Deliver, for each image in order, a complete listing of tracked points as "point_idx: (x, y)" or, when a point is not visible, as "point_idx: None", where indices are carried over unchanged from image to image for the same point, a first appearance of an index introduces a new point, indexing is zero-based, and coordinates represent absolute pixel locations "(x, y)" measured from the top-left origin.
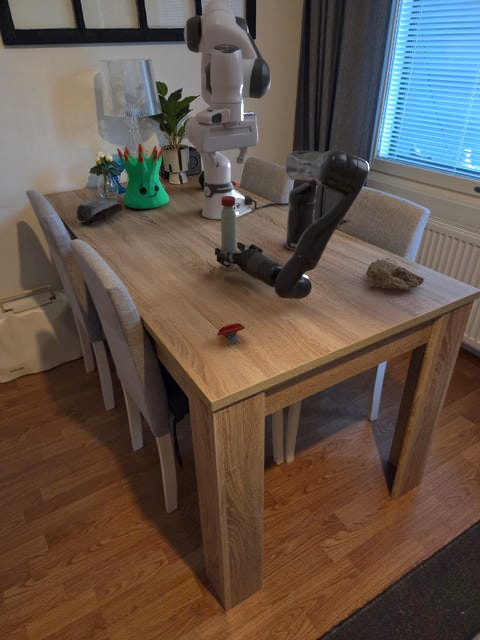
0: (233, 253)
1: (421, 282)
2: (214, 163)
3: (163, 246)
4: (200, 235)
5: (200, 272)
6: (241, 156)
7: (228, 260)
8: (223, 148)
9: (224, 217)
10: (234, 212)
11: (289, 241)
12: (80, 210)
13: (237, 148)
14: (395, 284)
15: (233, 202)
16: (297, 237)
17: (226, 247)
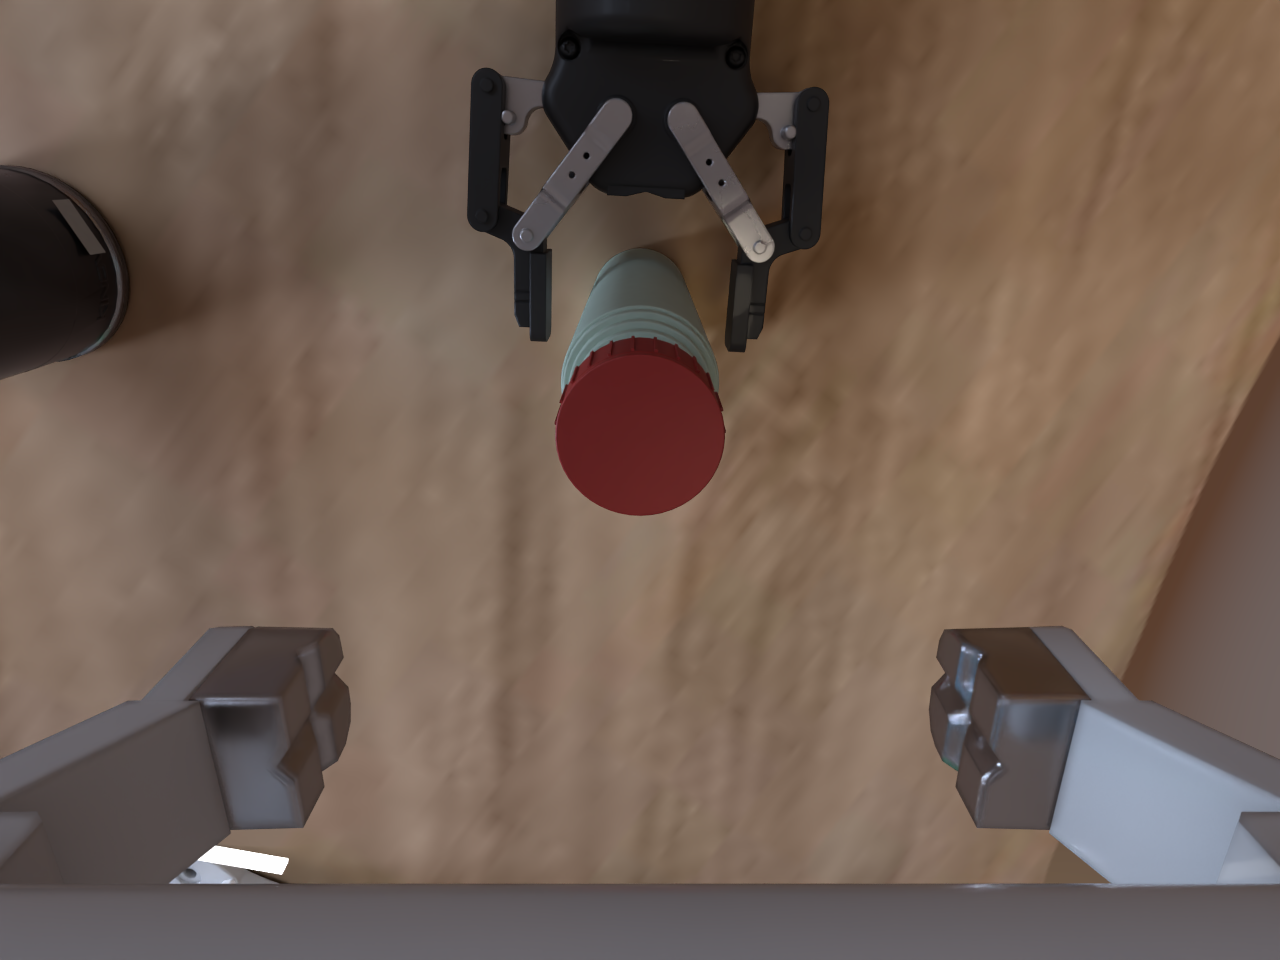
0: (721, 152)
1: None
2: (1115, 688)
3: (771, 751)
4: (510, 764)
5: (827, 342)
6: (188, 755)
7: (818, 87)
8: (1109, 935)
9: (712, 354)
10: (608, 328)
11: (87, 277)
12: None
13: (292, 889)
14: None
15: (621, 348)
16: (16, 212)
17: (687, 291)
